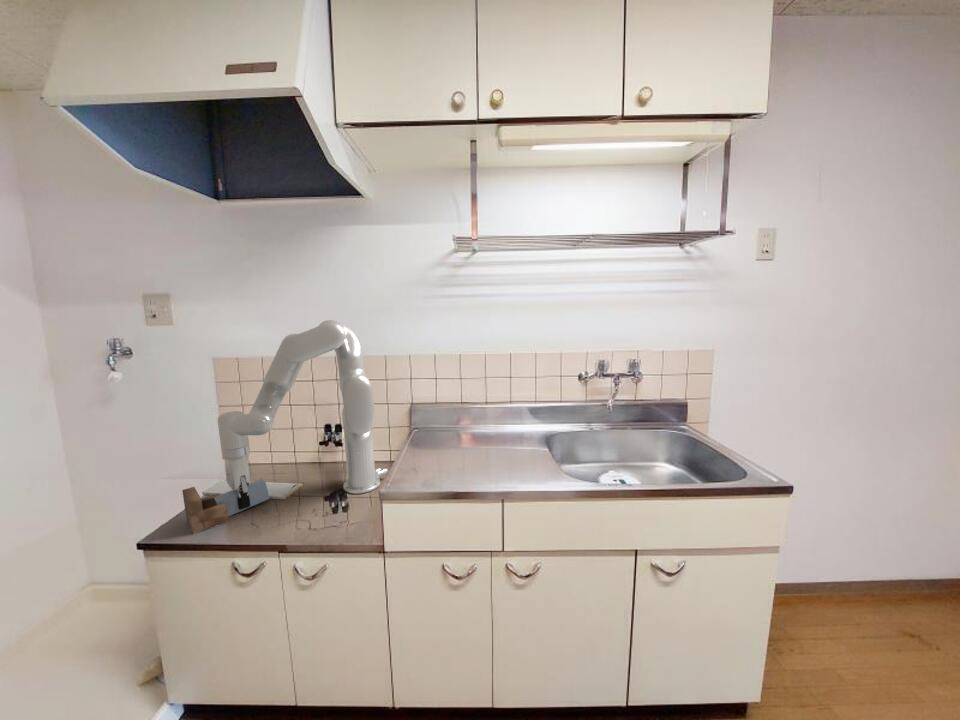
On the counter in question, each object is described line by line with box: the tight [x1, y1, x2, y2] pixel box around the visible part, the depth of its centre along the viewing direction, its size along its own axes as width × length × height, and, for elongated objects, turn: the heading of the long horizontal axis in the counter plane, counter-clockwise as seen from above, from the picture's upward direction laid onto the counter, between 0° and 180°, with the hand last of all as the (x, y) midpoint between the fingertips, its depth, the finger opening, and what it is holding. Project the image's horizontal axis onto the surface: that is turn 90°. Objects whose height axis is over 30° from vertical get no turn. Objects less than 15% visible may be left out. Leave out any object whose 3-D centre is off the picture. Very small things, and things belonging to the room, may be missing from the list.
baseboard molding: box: [201, 479, 304, 500], centre depth 144 cm, size 31×3×12 cm
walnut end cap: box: [182, 486, 230, 534], centre depth 123 cm, size 9×10×10 cm
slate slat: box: [214, 478, 271, 517], centre depth 130 cm, size 4×14×6 cm, turn 134°
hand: (242, 504), depth 130 cm, fingers closed on slate slat, 4 cm apart
